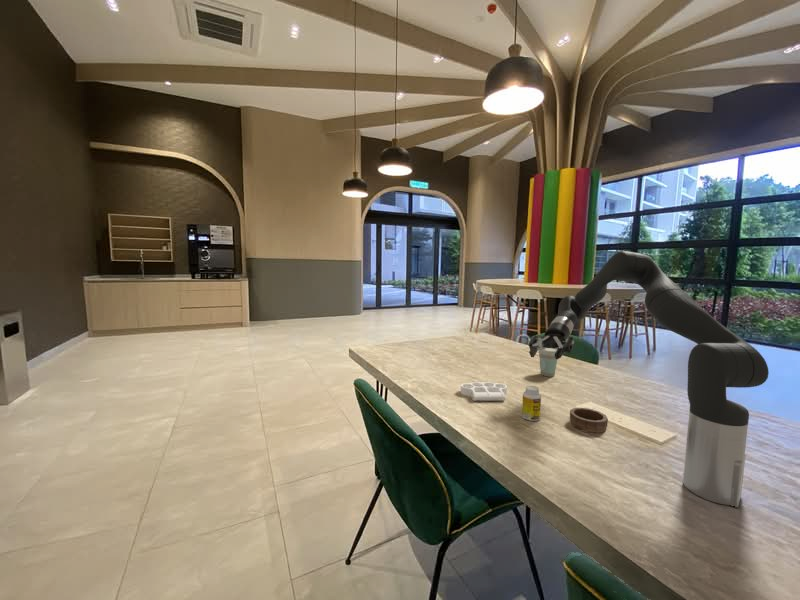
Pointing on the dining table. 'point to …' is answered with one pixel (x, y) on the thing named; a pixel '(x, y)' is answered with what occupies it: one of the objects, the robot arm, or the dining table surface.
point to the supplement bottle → (531, 403)
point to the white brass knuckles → (484, 391)
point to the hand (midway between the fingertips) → (543, 356)
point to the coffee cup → (547, 361)
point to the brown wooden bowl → (588, 420)
